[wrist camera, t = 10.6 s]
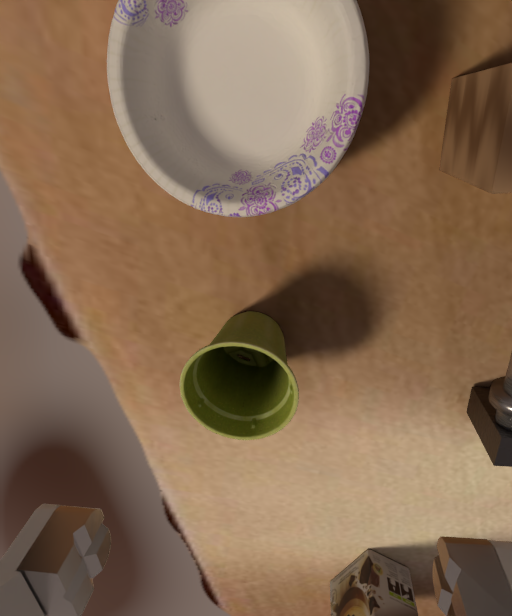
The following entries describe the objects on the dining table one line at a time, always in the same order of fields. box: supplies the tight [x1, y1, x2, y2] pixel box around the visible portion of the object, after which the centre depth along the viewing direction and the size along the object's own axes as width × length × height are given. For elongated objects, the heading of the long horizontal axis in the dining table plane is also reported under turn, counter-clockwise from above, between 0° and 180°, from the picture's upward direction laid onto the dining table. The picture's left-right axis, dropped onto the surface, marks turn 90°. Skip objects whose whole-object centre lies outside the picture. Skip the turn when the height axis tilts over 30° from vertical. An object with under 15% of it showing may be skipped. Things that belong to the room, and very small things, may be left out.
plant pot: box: [180, 311, 299, 440], centre depth 35 cm, size 9×9×9 cm
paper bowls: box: [107, 0, 370, 217], centre depth 26 cm, size 15×15×8 cm
